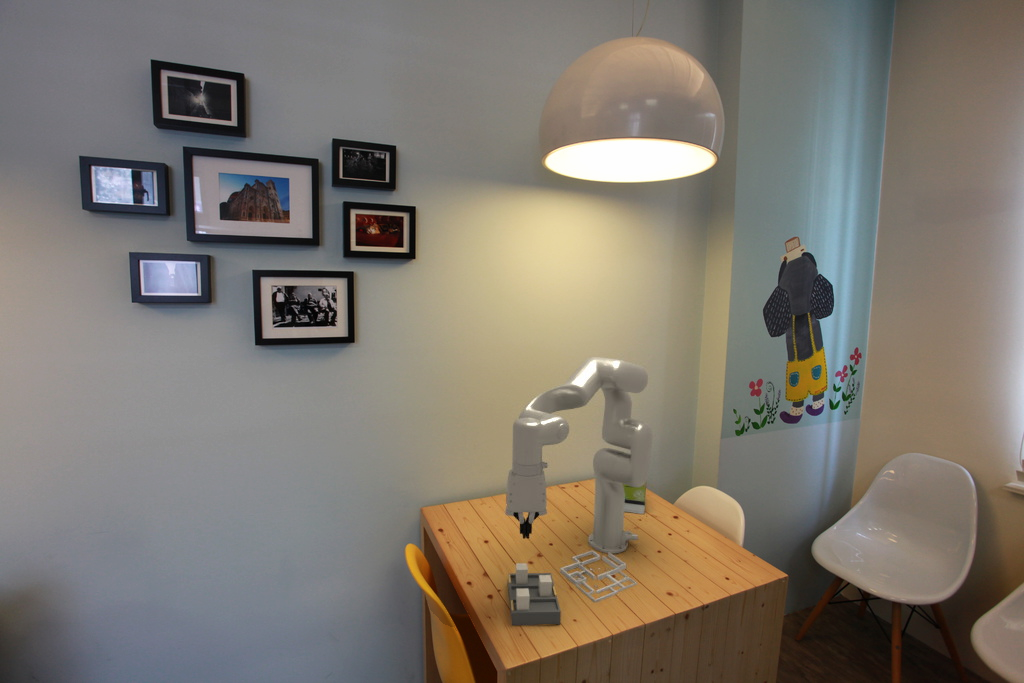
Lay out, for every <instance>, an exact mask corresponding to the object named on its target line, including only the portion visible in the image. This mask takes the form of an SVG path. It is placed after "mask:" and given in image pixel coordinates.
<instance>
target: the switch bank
mask: <svg viewBox="0 0 1024 683" xmlns="http://www.w3.org/2000/svg"><path fill="white" fill-rule="evenodd" d="M539 575H550V576H551V580H552V597H540V594H539ZM525 588H528V590H529V596H530V597H529V610H517V608H516V589H525ZM507 589H508V590H507V591H508V592H507V593H508V601H509V602H508V603H509V611H510V612H509V613H510V622H511V623H510V624H511V626H542V625H541V624H558V625H561V615H562V611H561V607H560V603H559V599H558V595H557V590H556V587H555V583H554V580H553V575H552V572H543V573H542V572H534V573H532V572H531V573H530V572H528V582H527V584H516V572H515V573H507ZM538 624H540V625H538Z"/></svg>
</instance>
